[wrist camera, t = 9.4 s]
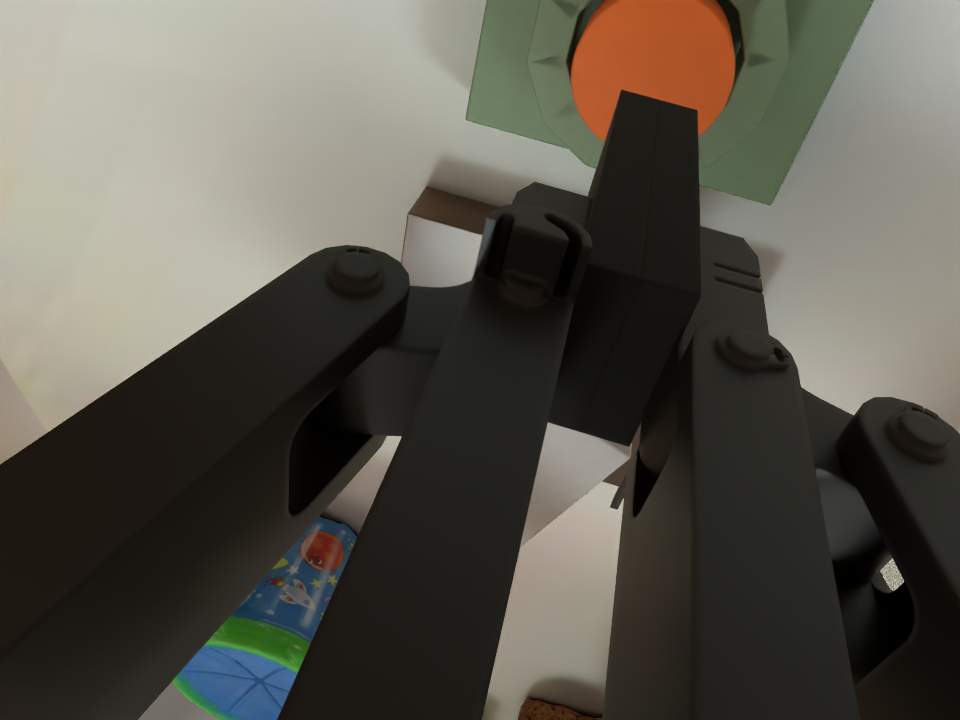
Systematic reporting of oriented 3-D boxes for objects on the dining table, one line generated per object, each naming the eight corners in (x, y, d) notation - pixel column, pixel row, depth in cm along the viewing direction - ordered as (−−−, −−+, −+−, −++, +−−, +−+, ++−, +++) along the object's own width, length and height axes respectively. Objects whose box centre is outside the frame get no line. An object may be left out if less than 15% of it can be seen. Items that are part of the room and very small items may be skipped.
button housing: (885, -66, 21) (917, -43, 18) (766, 180, 26) (776, 230, 23) (527, -157, 22) (501, -150, 19) (478, 100, 27) (451, 139, 24)
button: (758, -4, 20) (764, 13, 18) (698, 146, 23) (698, 172, 21) (603, -44, 20) (596, -31, 19) (562, 109, 23) (553, 132, 21)
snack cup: (438, 620, 49) (390, 775, 41) (308, 618, 53) (242, 760, 45) (346, 455, 41) (265, 609, 33) (200, 466, 45) (97, 607, 37)
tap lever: (582, 282, 28) (552, 413, 22) (643, 324, 28) (630, 464, 22) (465, 411, 33) (416, 545, 27) (518, 445, 34) (482, 583, 28)
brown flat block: (771, 258, 28) (777, 294, 26) (655, 476, 37) (653, 516, 34) (429, 161, 29) (410, 189, 27) (393, 396, 37) (376, 431, 35)
